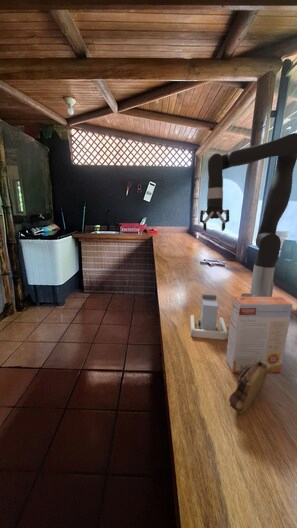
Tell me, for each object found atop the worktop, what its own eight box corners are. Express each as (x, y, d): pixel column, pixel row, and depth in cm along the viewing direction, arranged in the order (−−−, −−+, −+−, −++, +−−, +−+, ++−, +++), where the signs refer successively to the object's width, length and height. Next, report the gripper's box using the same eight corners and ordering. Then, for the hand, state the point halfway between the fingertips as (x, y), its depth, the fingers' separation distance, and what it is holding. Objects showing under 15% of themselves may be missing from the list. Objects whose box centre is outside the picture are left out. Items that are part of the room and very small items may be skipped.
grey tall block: (214, 325, 92) (217, 295, 89) (216, 334, 85) (220, 302, 82) (198, 323, 93) (200, 293, 89) (199, 332, 86) (202, 301, 83)
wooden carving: (248, 379, 63) (253, 346, 61) (266, 387, 61) (272, 354, 58) (222, 419, 51) (227, 380, 49) (243, 432, 48) (250, 391, 46)
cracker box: (269, 360, 72) (281, 295, 66) (281, 373, 66) (294, 304, 61) (224, 359, 71) (232, 295, 66) (231, 373, 65) (240, 303, 60)
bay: (222, 323, 93) (222, 317, 92) (227, 340, 82) (227, 333, 81) (190, 320, 95) (190, 314, 94) (190, 336, 83) (191, 330, 83)
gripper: (200, 197, 114) (200, 231, 117) (231, 196, 112) (229, 231, 115) (199, 198, 121) (199, 230, 125) (228, 197, 119) (227, 230, 123)
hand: (214, 230), depth 120 cm, fingers open, 8 cm apart
